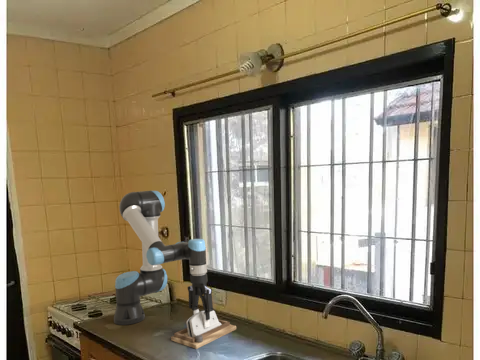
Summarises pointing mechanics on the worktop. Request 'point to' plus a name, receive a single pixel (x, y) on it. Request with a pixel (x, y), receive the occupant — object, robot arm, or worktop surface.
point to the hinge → (201, 323)
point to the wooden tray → (203, 335)
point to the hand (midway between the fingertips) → (201, 325)
